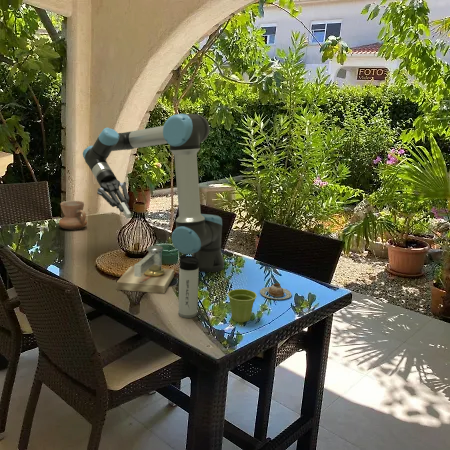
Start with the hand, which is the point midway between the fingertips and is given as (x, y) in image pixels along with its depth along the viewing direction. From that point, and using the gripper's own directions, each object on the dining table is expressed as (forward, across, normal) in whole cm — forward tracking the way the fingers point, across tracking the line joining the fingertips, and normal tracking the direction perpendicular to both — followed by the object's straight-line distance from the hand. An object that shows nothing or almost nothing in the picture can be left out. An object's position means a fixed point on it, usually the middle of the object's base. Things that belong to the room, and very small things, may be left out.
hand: (128, 216), depth 186 cm
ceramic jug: (-47, +2, -64) cm, 79 cm away
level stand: (+26, +4, -10) cm, 28 cm away
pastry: (+57, -33, +4) cm, 66 cm away
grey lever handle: (+27, +4, -5) cm, 28 cm away
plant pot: (+63, -9, +14) cm, 65 cm away
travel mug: (+52, +4, +9) cm, 52 cm away
